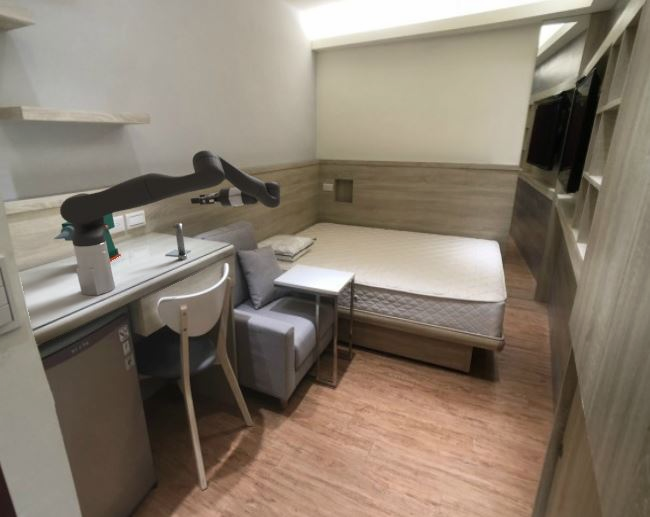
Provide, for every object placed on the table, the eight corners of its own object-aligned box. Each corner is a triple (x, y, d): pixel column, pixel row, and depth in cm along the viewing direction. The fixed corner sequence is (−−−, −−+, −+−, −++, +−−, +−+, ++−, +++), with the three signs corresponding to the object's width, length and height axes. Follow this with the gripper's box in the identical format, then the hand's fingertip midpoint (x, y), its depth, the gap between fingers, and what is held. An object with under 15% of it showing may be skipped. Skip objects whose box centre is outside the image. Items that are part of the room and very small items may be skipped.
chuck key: (182, 261, 150) (177, 225, 145) (174, 261, 151) (169, 225, 146) (190, 256, 157) (186, 221, 152) (183, 256, 158) (178, 221, 152)
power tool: (74, 283, 127) (61, 230, 120) (55, 283, 127) (41, 230, 120) (122, 256, 157) (114, 212, 150) (106, 255, 157) (97, 212, 150)
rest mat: (181, 256, 157) (181, 255, 157) (165, 255, 158) (165, 254, 158) (190, 251, 165) (190, 250, 164) (174, 250, 166) (174, 249, 165)
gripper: (236, 185, 150) (200, 187, 152) (225, 190, 137) (186, 192, 138) (239, 202, 153) (204, 204, 154) (228, 209, 139) (190, 211, 141)
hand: (195, 199), depth 146 cm, fingers open, 8 cm apart
